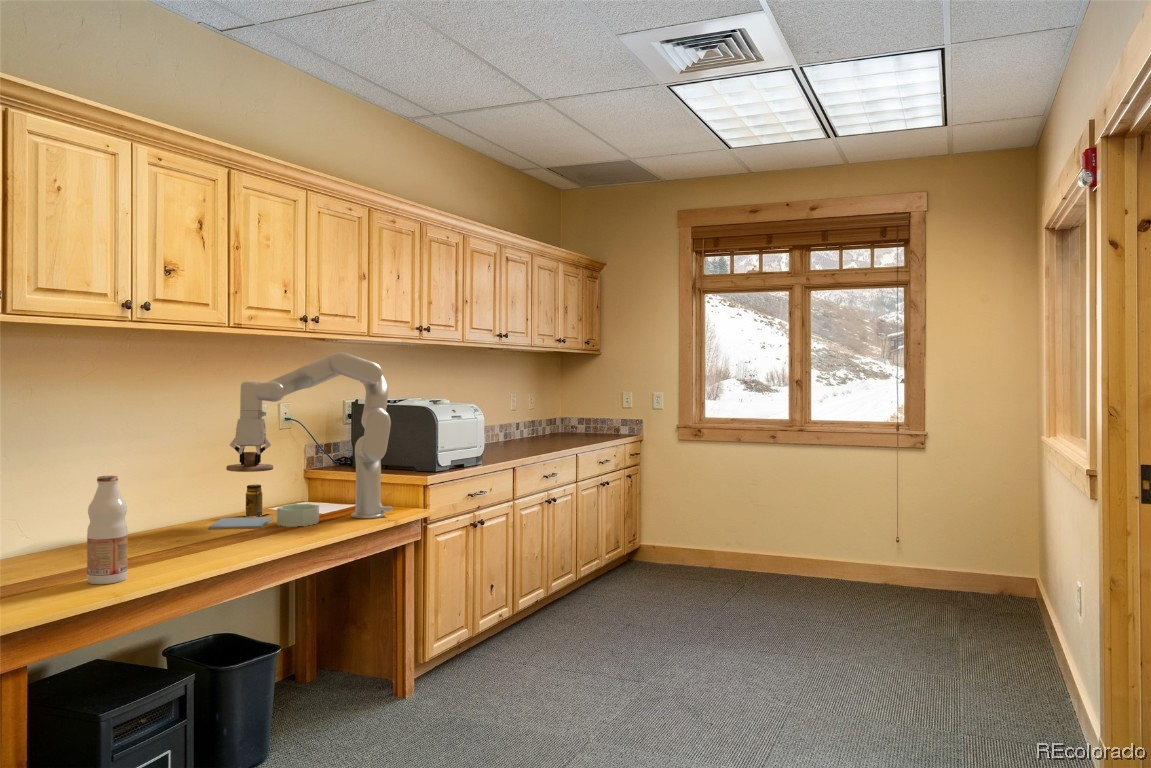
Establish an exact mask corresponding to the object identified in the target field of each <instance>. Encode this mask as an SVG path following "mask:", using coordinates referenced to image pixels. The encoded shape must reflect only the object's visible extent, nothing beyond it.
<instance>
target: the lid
mask: <svg viewBox="0 0 1151 768" xmlns="http://www.w3.org/2000/svg"><path fill="white" fill-rule="evenodd" d="M256 453H257V451H244V465H241V463H237V464H229V465H226V467H225V468H226V469H225V470H226V471H229V472H239V473H242V472H243V473H253V472H254V473H255V472H266V471H272V470H274V465H273V464H270V463H269V464H268V463H259V465H255V455H256Z"/></svg>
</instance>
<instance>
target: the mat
mask: <svg viewBox="0 0 1151 768" xmlns="http://www.w3.org/2000/svg"><path fill="white" fill-rule="evenodd" d="M270 520H271V521H272V520H273V516H269V517H267V516H261V517H222V518H220V519H218V520H217V521H216V522H214V523H212V524H211V525H209V526H208V530H223V529H222V528H248V529H263V528H264V527H265V526H266V525H267V524H269V523H270V522H271V521H270ZM269 521H270V522H269ZM268 522H269V523H268ZM264 525H265V526H264ZM263 526H264V527H263ZM262 527H263V528H262ZM219 528H221V529H219Z"/></svg>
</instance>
